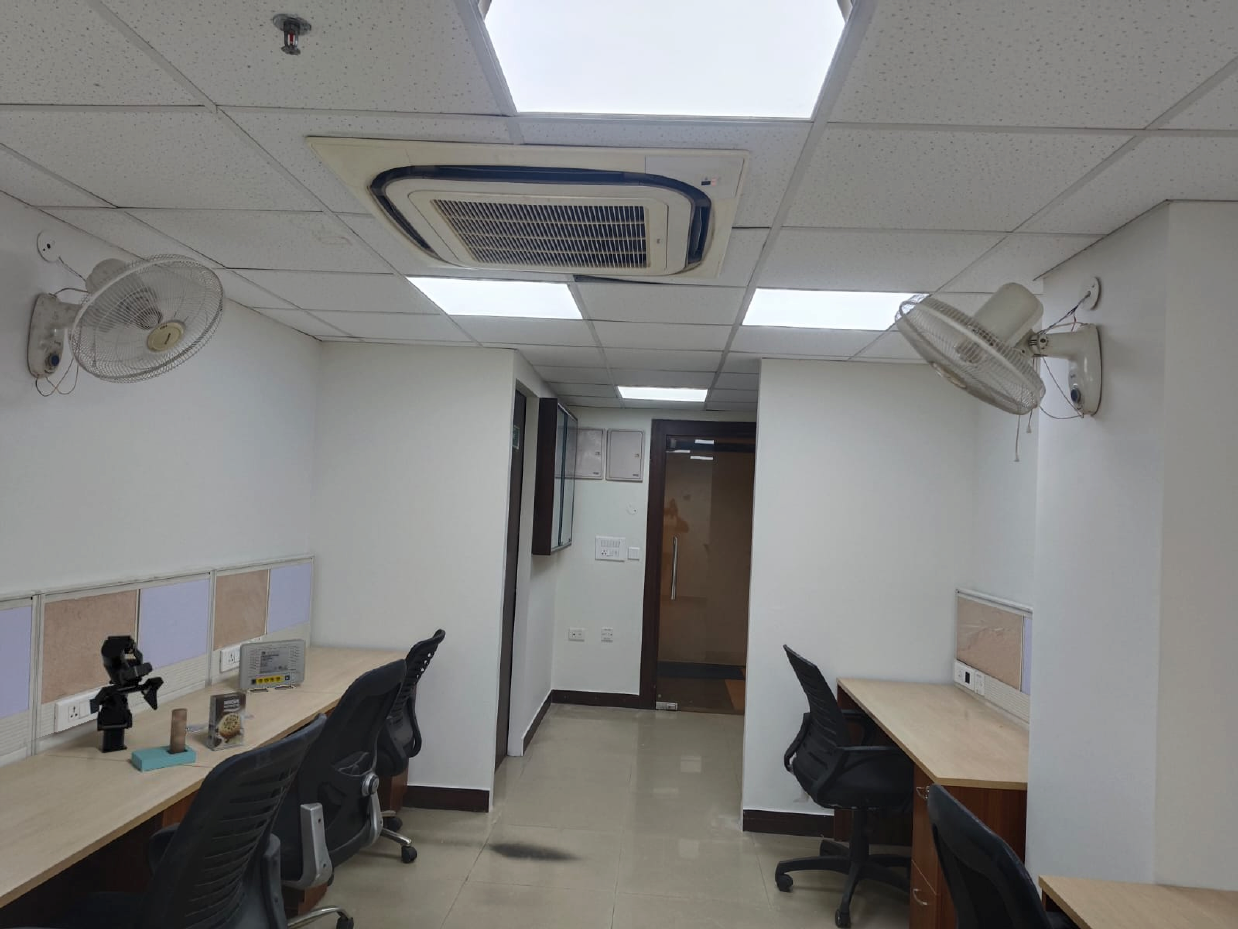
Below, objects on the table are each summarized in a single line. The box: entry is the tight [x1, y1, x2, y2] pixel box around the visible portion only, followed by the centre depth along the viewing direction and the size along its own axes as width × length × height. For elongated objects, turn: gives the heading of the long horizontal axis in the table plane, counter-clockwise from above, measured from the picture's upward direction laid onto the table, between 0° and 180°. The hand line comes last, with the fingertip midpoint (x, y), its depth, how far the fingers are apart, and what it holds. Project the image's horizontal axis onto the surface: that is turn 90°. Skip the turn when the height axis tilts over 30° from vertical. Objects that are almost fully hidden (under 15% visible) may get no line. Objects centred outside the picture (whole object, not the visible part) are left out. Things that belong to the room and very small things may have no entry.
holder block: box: [130, 743, 197, 772], centre depth 235 cm, size 12×14×3 cm
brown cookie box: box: [206, 691, 247, 751], centre depth 252 cm, size 9×6×16 cm
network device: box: [237, 638, 307, 691], centre depth 332 cm, size 26×9×20 cm, turn 130°
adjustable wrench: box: [186, 714, 254, 733], centre depth 276 cm, size 25×6×2 cm, turn 139°
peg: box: [169, 708, 188, 755], centre depth 236 cm, size 4×4×15 cm
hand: (142, 712), depth 238 cm, fingers open, 9 cm apart
